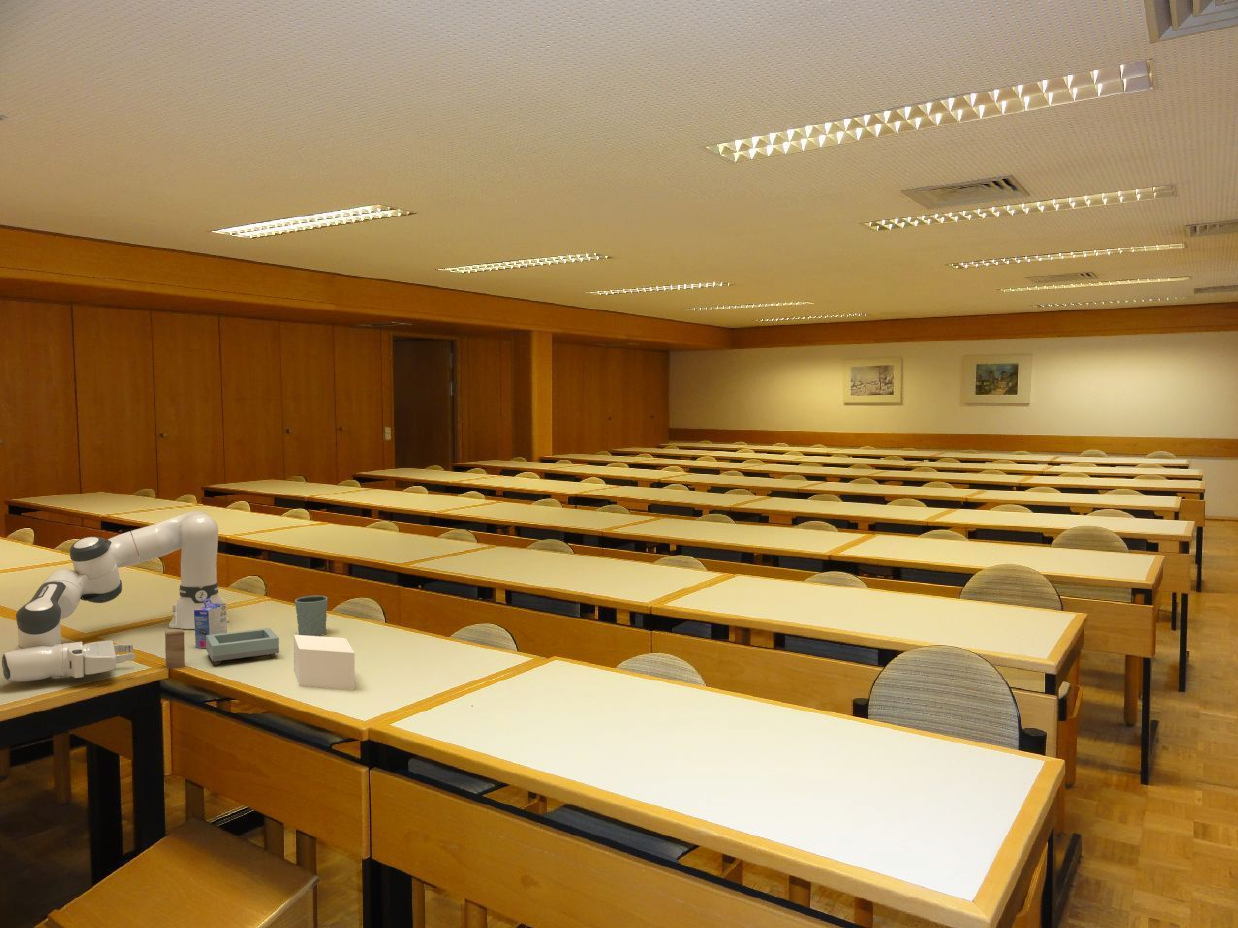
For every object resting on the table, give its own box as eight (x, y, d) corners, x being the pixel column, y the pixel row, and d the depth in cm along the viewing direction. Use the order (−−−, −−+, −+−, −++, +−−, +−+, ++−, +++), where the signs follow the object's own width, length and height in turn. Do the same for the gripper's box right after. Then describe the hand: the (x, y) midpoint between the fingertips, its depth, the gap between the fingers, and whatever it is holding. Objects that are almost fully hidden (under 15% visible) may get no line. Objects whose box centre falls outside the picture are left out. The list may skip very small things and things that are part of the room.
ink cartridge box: (212, 639, 271) (211, 595, 270) (228, 640, 270) (227, 596, 270) (193, 648, 261) (193, 602, 260) (210, 648, 261) (209, 602, 260)
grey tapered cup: (334, 632, 282) (334, 597, 281) (310, 639, 273) (310, 603, 272) (312, 628, 287) (312, 594, 286) (288, 635, 278) (288, 599, 277)
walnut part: (165, 665, 243) (165, 631, 243) (183, 662, 246) (182, 629, 245) (167, 669, 239) (166, 634, 239) (184, 666, 242) (184, 632, 241)
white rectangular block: (330, 697, 218) (330, 658, 217) (270, 675, 235) (270, 639, 235) (377, 684, 229) (377, 647, 229) (316, 664, 247) (316, 629, 246)
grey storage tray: (206, 655, 253) (206, 635, 253) (269, 646, 263) (269, 627, 263) (212, 667, 242) (212, 646, 241) (278, 658, 251) (278, 637, 251)
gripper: (75, 660, 237) (131, 653, 245) (76, 680, 220) (136, 672, 228) (75, 638, 237) (131, 632, 245) (75, 656, 220) (136, 649, 228)
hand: (134, 651), depth 236 cm, fingers open, 8 cm apart
